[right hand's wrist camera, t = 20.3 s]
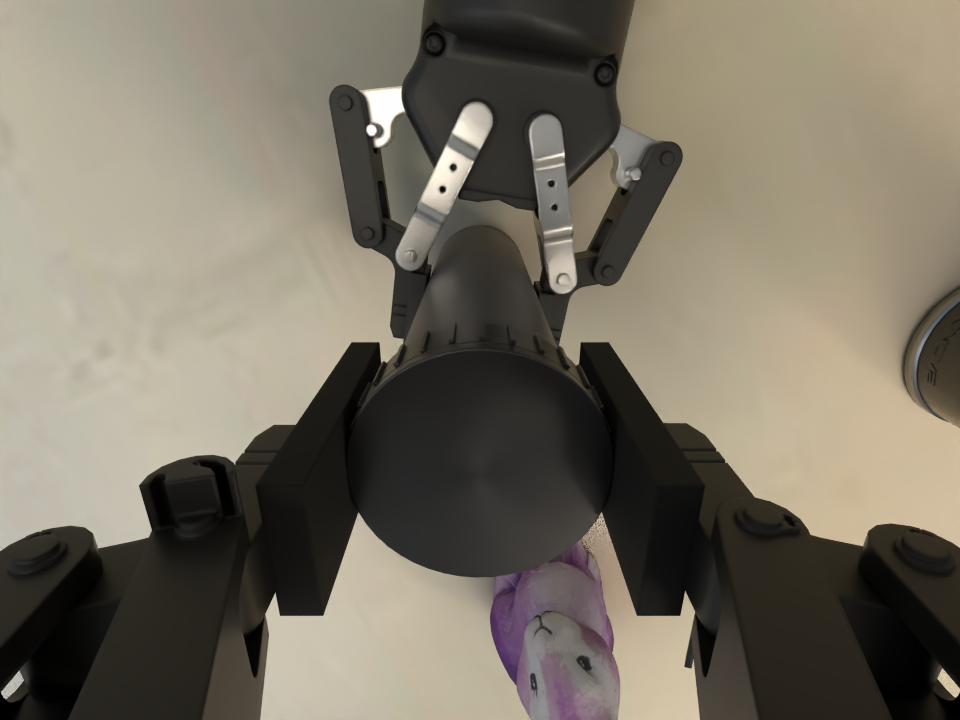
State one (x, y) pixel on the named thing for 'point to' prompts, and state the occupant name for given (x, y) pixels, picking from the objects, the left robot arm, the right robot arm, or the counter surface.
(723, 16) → the counter surface
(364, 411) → the lid
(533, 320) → the dark grey cylinder
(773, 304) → the counter surface
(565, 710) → the figurine
